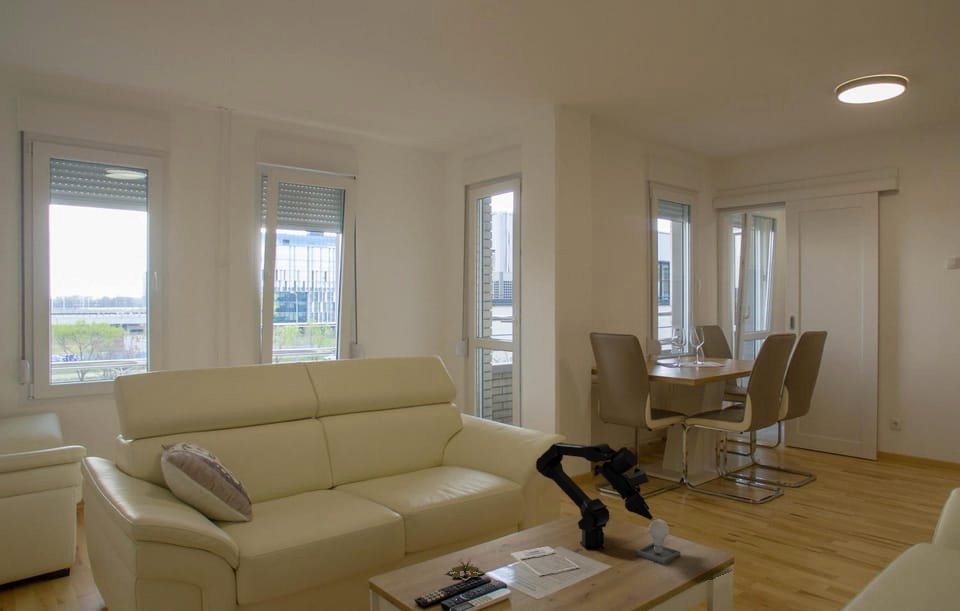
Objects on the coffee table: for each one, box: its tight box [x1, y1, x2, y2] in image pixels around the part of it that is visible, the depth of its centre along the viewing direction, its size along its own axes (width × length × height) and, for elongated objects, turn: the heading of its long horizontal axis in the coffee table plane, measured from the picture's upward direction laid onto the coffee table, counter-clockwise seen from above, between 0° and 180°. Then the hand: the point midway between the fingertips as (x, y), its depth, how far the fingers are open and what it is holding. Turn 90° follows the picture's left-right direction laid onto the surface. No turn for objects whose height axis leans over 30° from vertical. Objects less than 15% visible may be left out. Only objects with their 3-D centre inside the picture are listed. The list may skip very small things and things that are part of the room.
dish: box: [636, 542, 681, 567], centre depth 199 cm, size 10×10×2 cm
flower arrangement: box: [447, 558, 486, 581], centre depth 184 cm, size 12×12×5 cm
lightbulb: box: [648, 518, 670, 554], centre depth 200 cm, size 6×6×11 cm
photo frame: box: [509, 546, 580, 575], centre depth 194 cm, size 15×1×18 cm
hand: (650, 514), depth 200 cm, fingers open, 9 cm apart
